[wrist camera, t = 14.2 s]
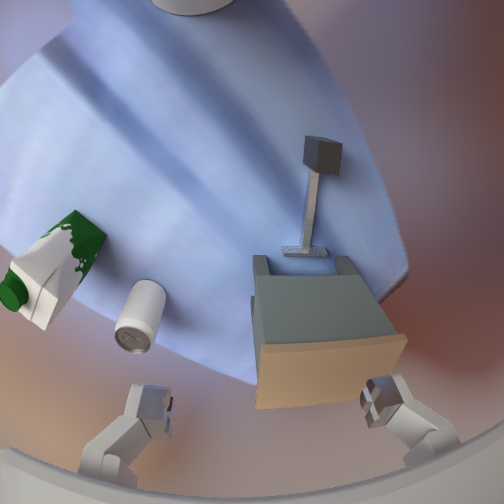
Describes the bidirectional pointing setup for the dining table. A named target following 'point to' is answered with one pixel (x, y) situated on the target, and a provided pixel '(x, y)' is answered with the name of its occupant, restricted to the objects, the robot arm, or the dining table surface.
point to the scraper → (314, 190)
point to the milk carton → (51, 269)
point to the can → (140, 317)
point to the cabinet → (318, 337)
